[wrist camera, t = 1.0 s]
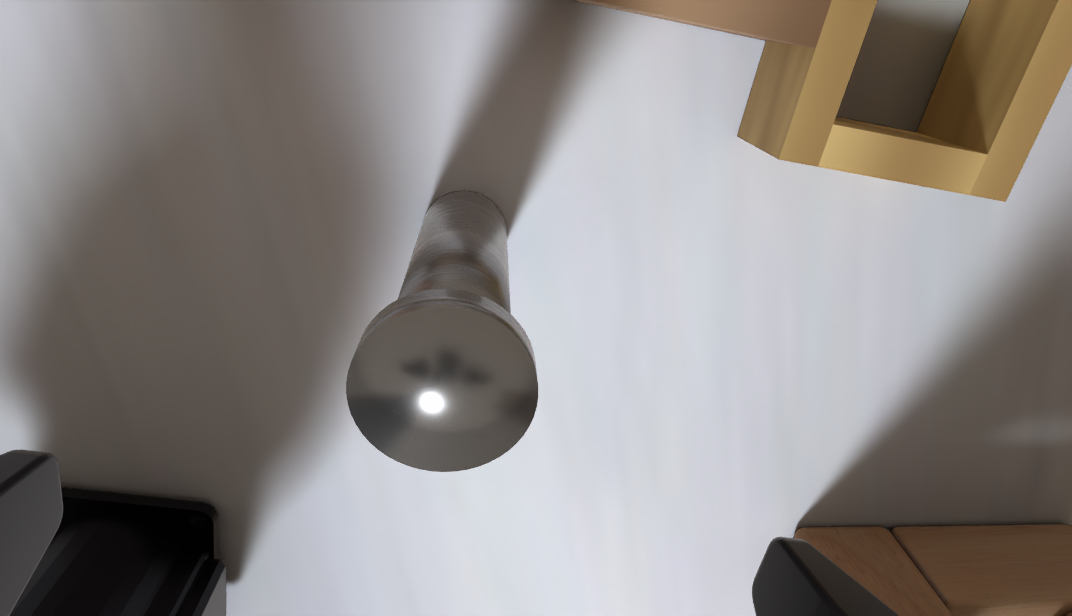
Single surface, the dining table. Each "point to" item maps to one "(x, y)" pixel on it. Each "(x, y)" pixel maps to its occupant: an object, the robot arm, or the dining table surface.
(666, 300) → the dining table surface
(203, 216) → the dining table surface
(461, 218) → the hinge pin
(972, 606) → the wooden block
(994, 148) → the tan piece
